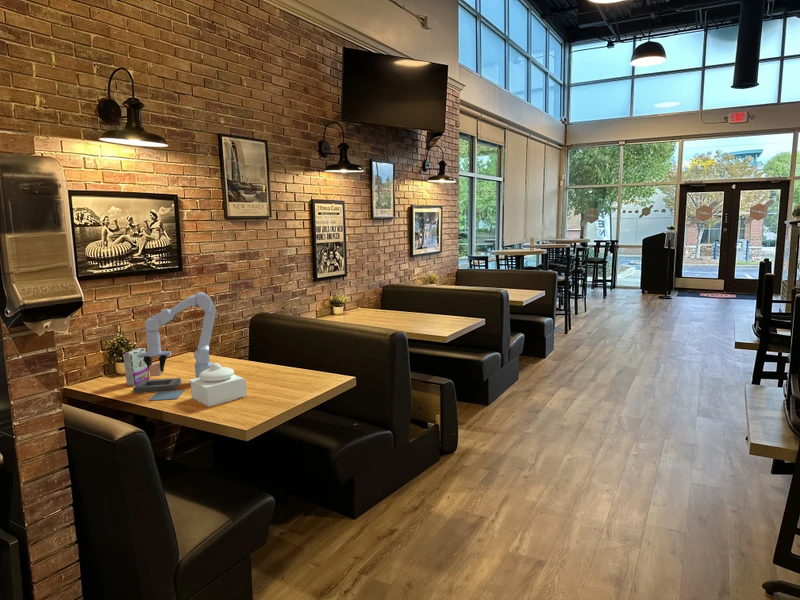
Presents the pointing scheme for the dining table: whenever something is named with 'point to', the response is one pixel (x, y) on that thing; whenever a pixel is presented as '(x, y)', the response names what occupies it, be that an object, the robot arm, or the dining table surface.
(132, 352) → the candy bar box
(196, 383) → the white domed box
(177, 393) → the rubber mat
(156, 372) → the coral block
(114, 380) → the dining table surface
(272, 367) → the dining table surface
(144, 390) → the dark grey tray
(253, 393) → the dining table surface
